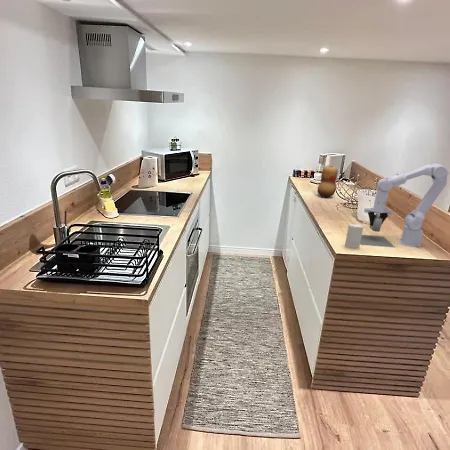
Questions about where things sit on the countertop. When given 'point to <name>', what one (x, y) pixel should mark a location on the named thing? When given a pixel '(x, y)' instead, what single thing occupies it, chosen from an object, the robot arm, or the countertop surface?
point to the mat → (375, 241)
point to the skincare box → (354, 236)
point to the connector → (376, 223)
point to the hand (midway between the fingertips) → (375, 225)
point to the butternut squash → (328, 181)
